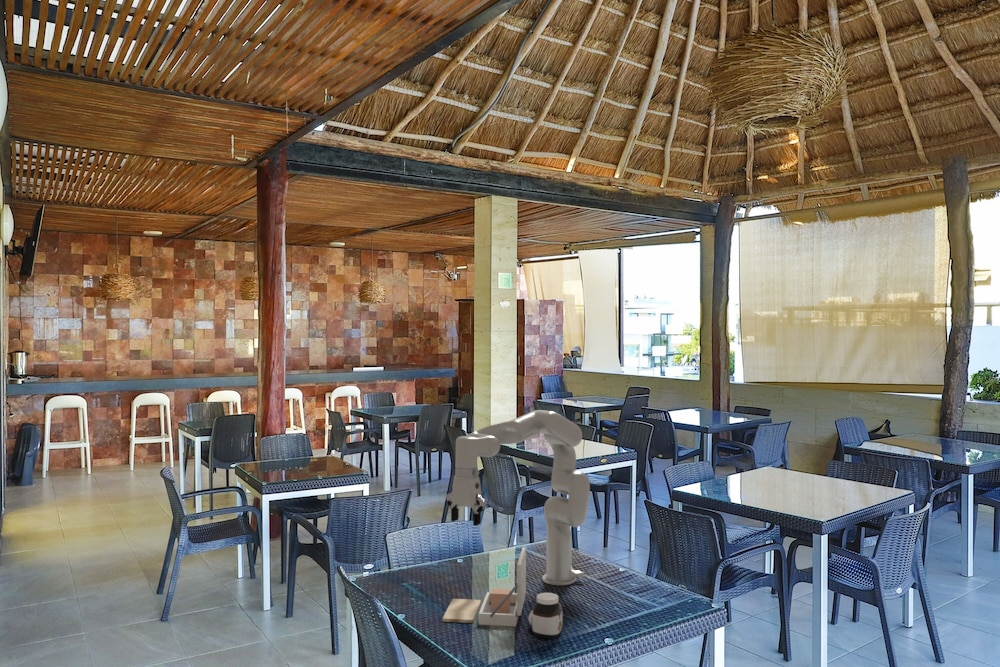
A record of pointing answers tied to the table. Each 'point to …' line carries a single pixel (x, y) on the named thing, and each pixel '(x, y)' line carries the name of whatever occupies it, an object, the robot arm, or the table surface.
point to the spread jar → (546, 616)
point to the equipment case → (516, 599)
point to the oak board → (462, 611)
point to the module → (500, 600)
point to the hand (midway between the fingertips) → (465, 522)
